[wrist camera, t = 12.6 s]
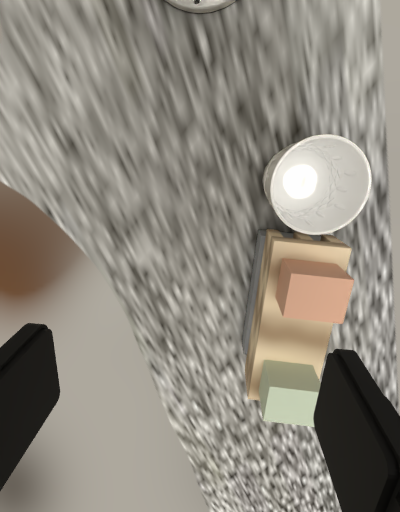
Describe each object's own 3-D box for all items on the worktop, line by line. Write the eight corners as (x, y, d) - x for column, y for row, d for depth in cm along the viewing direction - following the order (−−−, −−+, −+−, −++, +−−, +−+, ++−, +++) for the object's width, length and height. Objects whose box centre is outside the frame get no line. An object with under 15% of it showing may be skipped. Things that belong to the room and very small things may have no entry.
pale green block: (264, 359, 32) (269, 386, 28) (312, 365, 32) (324, 393, 28) (258, 390, 33) (263, 420, 29) (305, 396, 33) (315, 427, 29)
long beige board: (266, 228, 33) (274, 240, 28) (332, 235, 33) (351, 248, 28) (244, 369, 38) (247, 398, 34) (301, 375, 38) (312, 406, 33)
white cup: (312, 127, 32) (349, 113, 23) (340, 193, 34) (386, 207, 25) (244, 164, 34) (253, 167, 25) (275, 226, 36) (294, 250, 26)
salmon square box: (282, 258, 29) (291, 273, 25) (336, 263, 28) (354, 279, 25) (275, 297, 30) (283, 317, 26) (327, 302, 30) (342, 324, 26)
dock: (258, 229, 36) (261, 235, 33) (327, 236, 36) (336, 243, 33) (242, 340, 41) (243, 353, 38) (302, 347, 40) (309, 361, 37)
